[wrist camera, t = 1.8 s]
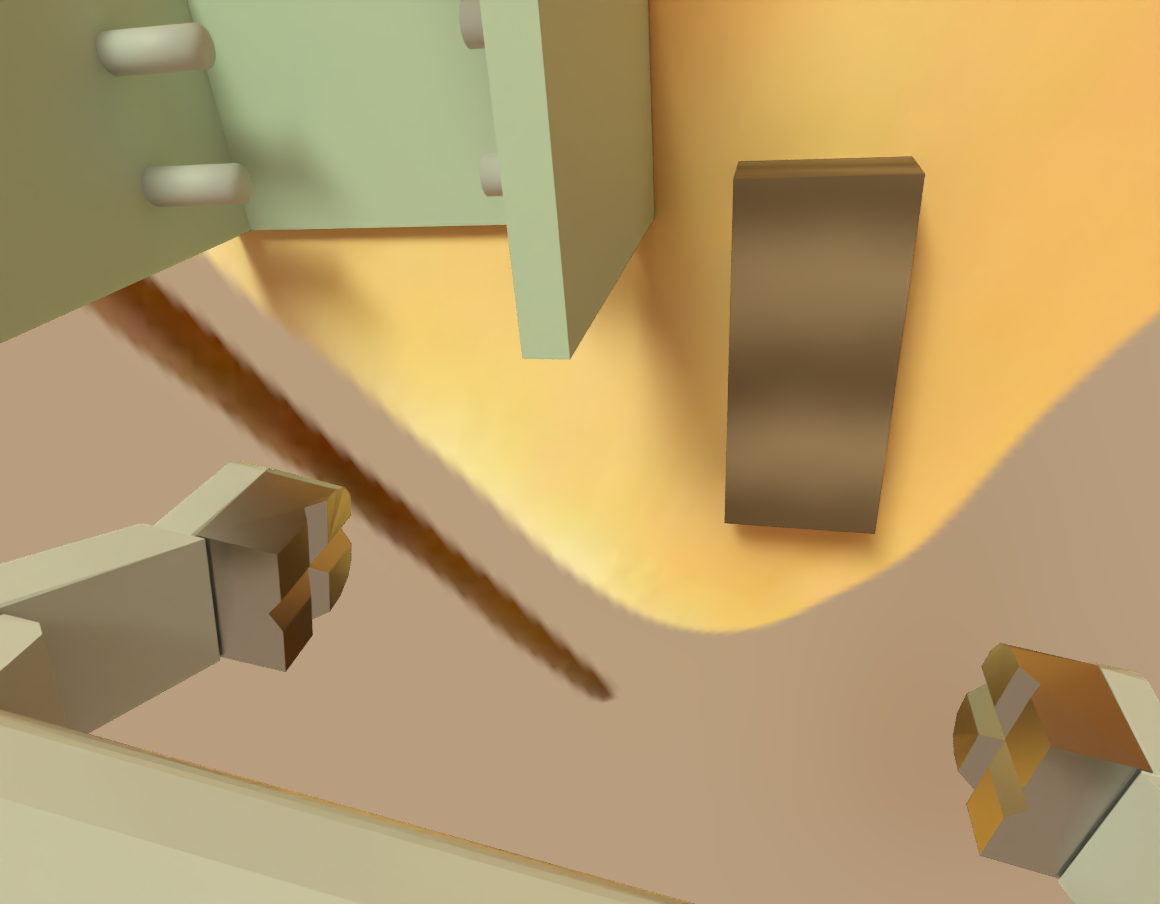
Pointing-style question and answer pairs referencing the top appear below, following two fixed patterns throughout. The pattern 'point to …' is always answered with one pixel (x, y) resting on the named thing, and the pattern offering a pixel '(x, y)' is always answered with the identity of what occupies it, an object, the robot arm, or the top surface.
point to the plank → (816, 336)
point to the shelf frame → (322, 138)
